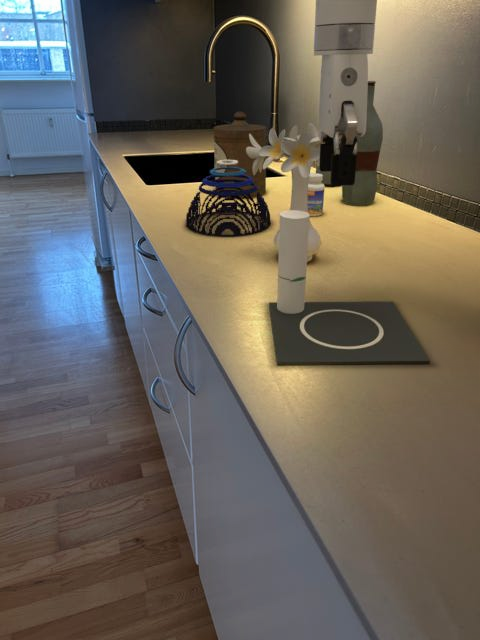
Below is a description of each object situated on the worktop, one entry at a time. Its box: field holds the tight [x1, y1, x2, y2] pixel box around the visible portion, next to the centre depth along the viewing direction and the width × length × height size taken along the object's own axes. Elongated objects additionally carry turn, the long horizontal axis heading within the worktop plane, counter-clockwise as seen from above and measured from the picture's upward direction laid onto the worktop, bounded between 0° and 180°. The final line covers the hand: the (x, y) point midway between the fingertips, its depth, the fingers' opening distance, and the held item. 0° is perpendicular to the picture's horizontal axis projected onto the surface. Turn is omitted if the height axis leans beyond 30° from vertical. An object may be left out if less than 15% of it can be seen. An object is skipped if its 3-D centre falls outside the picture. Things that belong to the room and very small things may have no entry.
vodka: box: [341, 80, 384, 207], centre depth 133 cm, size 9×9×30 cm
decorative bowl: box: [185, 160, 272, 238], centre depth 119 cm, size 20×20×14 cm
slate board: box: [268, 301, 431, 366], centre depth 75 cm, size 20×18×1 cm
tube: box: [276, 209, 311, 314], centre depth 77 cm, size 4×4×15 cm
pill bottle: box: [308, 172, 326, 217], centre depth 127 cm, size 5×5×10 cm
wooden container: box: [213, 111, 267, 199], centre depth 145 cm, size 15×15×22 cm
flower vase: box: [246, 122, 323, 263], centre depth 95 cm, size 13×18×25 cm
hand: (335, 177), depth 73 cm, fingers open, 9 cm apart
